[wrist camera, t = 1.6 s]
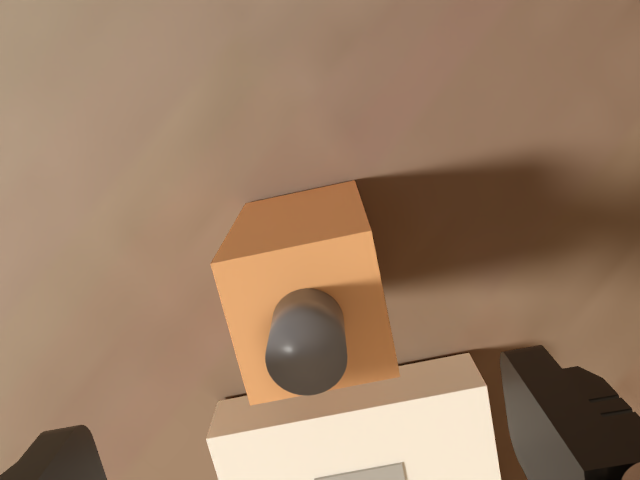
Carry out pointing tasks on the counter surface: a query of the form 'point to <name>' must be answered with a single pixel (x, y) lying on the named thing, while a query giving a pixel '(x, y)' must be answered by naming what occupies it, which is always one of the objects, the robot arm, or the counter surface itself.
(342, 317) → the block
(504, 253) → the counter surface
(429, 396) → the power strip
